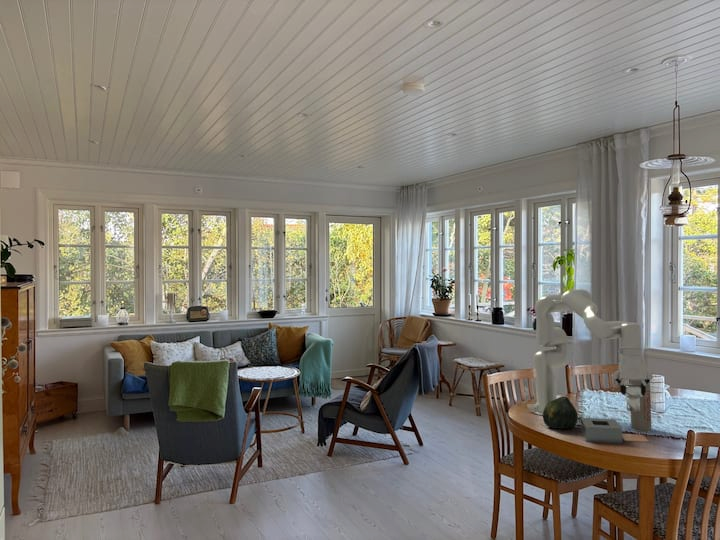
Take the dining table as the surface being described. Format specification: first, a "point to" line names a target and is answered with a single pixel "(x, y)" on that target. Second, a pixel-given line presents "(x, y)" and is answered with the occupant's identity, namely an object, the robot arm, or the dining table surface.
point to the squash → (560, 414)
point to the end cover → (633, 397)
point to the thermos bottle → (642, 410)
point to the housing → (601, 430)
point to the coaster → (634, 437)
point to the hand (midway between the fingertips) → (632, 394)
